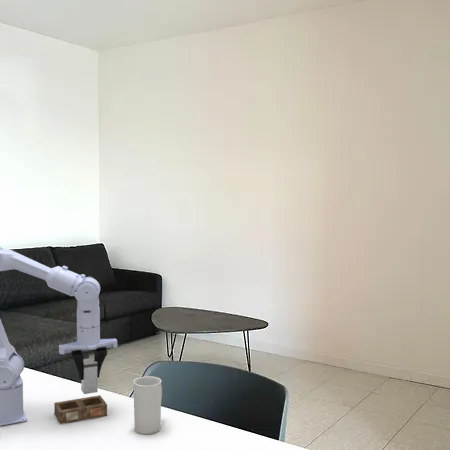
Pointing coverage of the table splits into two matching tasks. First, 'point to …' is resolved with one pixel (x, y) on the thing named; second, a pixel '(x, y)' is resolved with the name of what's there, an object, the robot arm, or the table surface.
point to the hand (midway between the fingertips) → (89, 377)
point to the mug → (147, 404)
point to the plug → (89, 376)
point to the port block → (80, 409)
